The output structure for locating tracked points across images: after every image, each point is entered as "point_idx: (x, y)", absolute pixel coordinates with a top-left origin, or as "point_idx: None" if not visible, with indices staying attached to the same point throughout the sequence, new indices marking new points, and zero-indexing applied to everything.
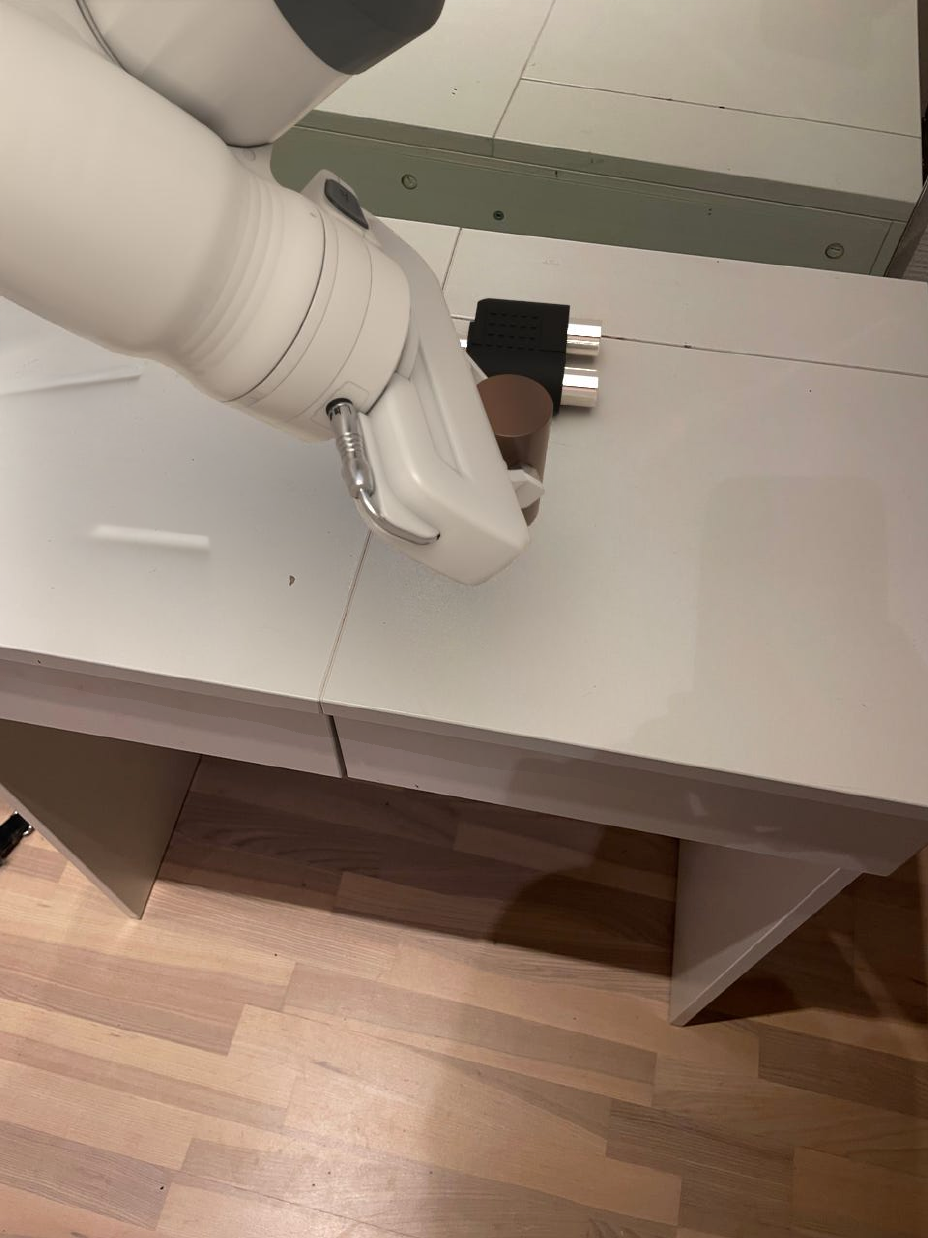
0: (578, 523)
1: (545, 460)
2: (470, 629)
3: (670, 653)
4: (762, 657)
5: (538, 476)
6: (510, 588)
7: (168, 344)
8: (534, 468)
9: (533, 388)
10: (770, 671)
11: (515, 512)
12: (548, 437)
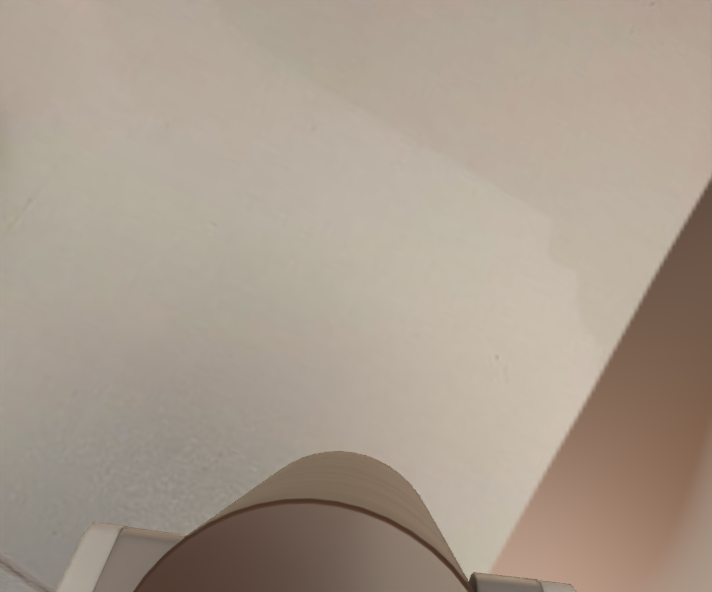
0: (198, 248)
1: (404, 495)
2: None
3: (482, 220)
4: (534, 95)
5: (517, 588)
6: (278, 411)
7: None
8: (481, 589)
9: (242, 556)
10: (560, 96)
11: None
12: (421, 521)
